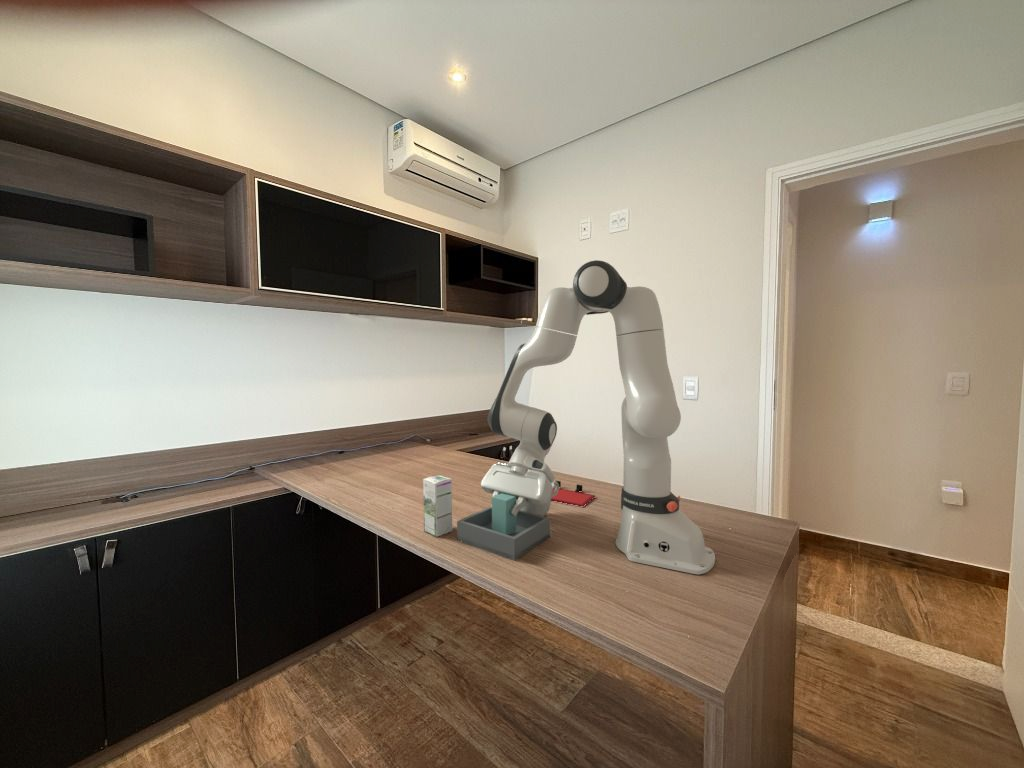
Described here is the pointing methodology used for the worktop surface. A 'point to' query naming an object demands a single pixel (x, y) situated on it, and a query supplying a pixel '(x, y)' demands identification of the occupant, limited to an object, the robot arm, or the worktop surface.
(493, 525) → the teal block
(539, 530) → the tote
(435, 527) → the syrup box
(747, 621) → the worktop surface
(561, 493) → the red flat slab
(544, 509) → the teacup
